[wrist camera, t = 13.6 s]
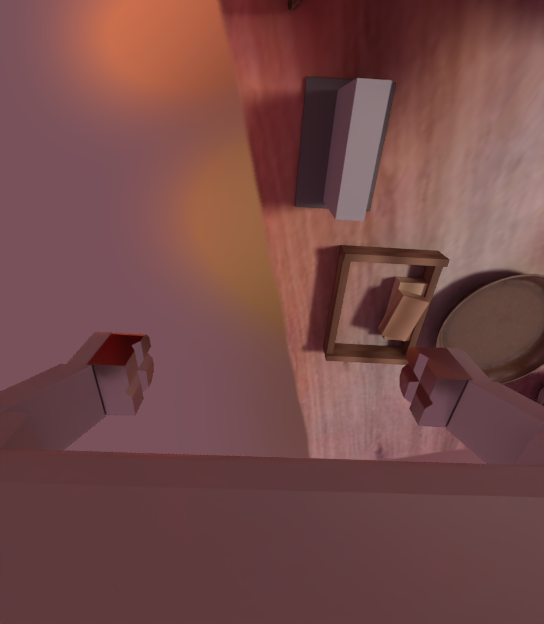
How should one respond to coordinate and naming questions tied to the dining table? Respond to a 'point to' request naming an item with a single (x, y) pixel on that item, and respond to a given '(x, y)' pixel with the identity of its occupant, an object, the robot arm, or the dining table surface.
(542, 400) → the teacup
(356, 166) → the block
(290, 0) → the book
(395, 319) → the offcut short
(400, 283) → the block
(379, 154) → the mat
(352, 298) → the dining table surface
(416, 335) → the brown open frame piece
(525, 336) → the plant saucer
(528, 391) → the dining table surface
